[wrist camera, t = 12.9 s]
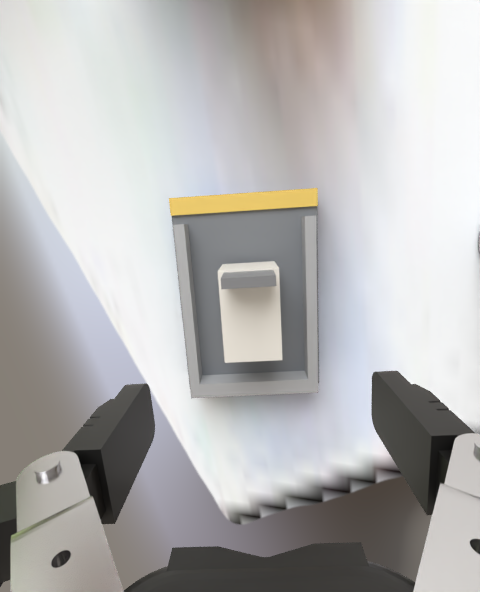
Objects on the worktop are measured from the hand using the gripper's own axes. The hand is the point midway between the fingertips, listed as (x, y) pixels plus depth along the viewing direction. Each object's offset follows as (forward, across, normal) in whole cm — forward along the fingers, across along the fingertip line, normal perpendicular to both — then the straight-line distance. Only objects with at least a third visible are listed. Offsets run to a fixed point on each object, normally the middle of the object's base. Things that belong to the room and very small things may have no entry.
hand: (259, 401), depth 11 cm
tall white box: (+22, 0, +1) cm, 22 cm away
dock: (+24, +1, +1) cm, 25 cm away
